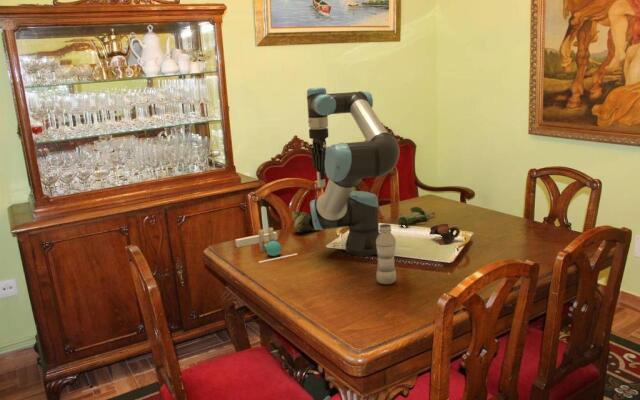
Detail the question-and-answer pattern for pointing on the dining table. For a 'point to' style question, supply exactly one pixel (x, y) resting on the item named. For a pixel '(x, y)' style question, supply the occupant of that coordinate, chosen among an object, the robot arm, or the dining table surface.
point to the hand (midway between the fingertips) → (321, 186)
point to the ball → (273, 248)
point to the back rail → (252, 240)
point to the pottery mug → (444, 233)
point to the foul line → (277, 258)
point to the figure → (414, 216)
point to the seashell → (302, 222)
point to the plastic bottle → (385, 255)
